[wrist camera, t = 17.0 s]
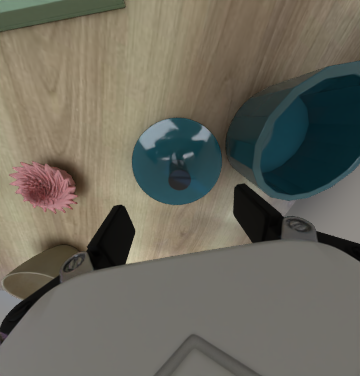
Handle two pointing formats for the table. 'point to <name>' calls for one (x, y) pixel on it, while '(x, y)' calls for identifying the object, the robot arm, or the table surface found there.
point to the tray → (49, 10)
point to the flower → (45, 186)
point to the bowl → (36, 271)
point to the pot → (299, 133)
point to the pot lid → (177, 161)
